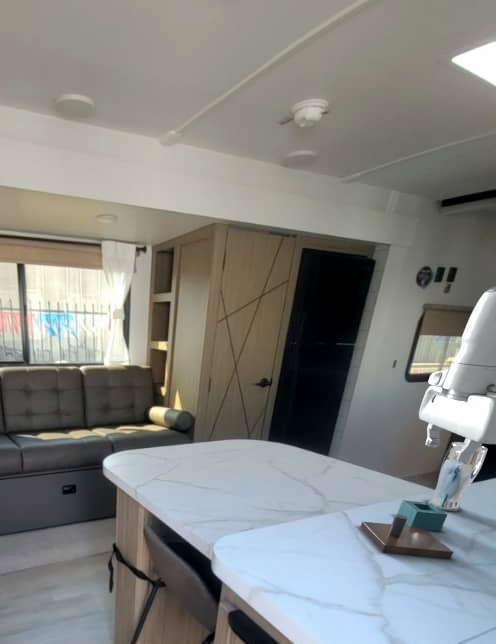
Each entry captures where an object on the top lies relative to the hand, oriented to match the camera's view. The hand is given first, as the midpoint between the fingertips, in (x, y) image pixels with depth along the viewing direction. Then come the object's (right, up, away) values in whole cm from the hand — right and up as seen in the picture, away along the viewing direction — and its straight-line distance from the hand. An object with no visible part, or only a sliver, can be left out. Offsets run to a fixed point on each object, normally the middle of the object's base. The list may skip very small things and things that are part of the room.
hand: (444, 453), depth 81 cm
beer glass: (+14, -10, +18) cm, 25 cm away
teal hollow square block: (+1, -14, +8) cm, 16 cm away
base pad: (-9, -18, 0) cm, 20 cm away
